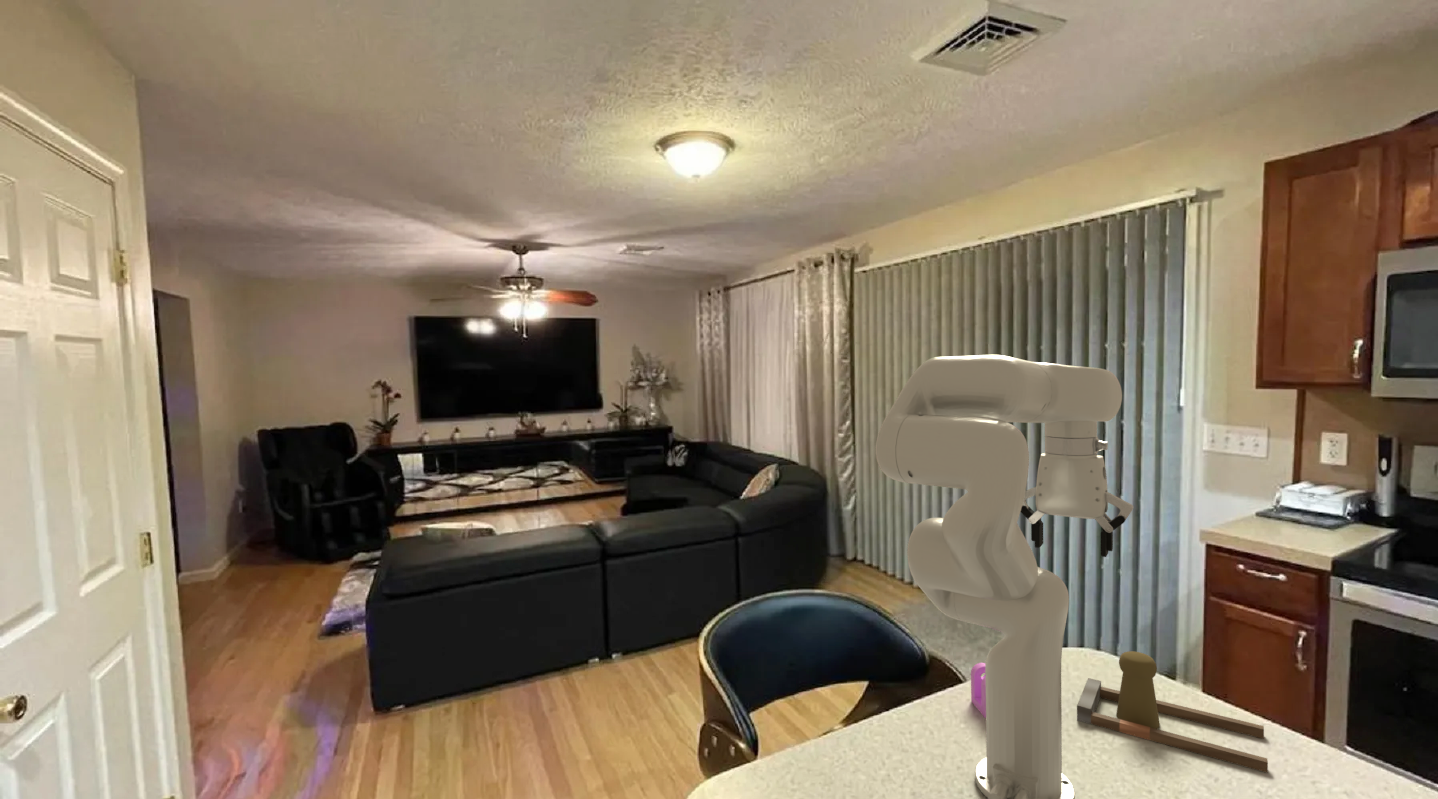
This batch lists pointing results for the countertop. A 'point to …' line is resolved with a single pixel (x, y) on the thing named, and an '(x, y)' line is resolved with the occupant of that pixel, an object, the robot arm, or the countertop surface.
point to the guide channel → (1088, 715)
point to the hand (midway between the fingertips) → (1070, 550)
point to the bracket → (979, 687)
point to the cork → (1138, 690)
